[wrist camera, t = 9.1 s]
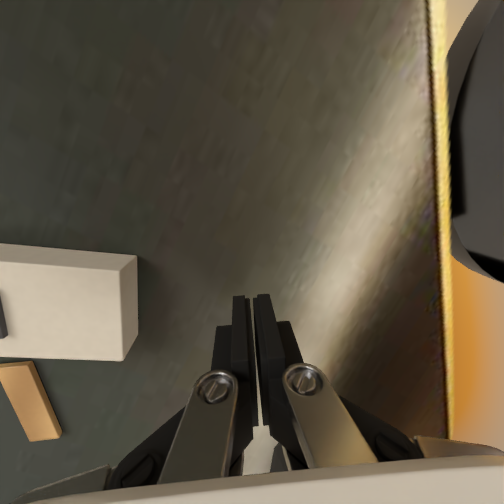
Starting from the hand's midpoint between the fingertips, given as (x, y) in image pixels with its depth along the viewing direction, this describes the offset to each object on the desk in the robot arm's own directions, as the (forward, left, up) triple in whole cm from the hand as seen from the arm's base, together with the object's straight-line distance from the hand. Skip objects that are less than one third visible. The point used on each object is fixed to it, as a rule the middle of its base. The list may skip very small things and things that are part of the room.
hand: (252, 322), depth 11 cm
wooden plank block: (+14, +6, -3) cm, 16 cm away
